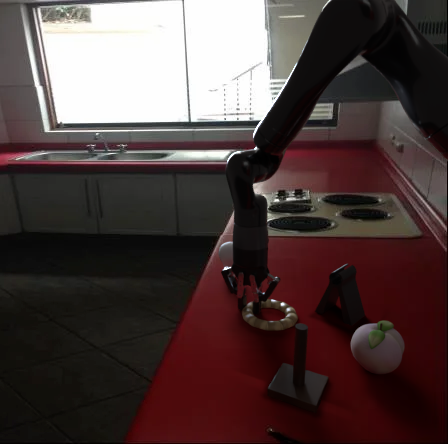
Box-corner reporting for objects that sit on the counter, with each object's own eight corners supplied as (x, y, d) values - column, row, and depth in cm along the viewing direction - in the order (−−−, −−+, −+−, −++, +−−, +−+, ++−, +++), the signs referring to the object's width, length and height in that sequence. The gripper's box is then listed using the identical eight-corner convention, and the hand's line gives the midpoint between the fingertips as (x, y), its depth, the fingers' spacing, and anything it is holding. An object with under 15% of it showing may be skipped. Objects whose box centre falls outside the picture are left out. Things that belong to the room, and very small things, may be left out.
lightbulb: (217, 284, 111) (216, 246, 107) (220, 274, 116) (220, 237, 113) (240, 286, 109) (240, 247, 106) (243, 276, 115) (243, 239, 111)
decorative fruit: (354, 350, 81) (359, 305, 78) (402, 364, 76) (409, 316, 73) (343, 378, 74) (347, 329, 71) (395, 395, 69) (402, 343, 66)
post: (328, 383, 73) (333, 321, 69) (315, 413, 66) (320, 346, 63) (282, 369, 77) (285, 309, 73) (267, 395, 71) (269, 332, 67)
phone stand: (313, 315, 94) (316, 266, 90) (327, 305, 97) (330, 258, 94) (352, 331, 87) (357, 279, 83) (366, 320, 91) (371, 270, 87)
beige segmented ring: (303, 314, 94) (304, 305, 94) (287, 340, 85) (287, 330, 85) (254, 302, 101) (254, 293, 100) (233, 325, 92) (233, 316, 91)
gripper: (213, 242, 91) (214, 312, 96) (275, 253, 83) (273, 328, 89) (228, 232, 97) (228, 298, 102) (287, 241, 89) (285, 312, 95)
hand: (249, 312), depth 95 cm, fingers closed on beige segmented ring, 2 cm apart
